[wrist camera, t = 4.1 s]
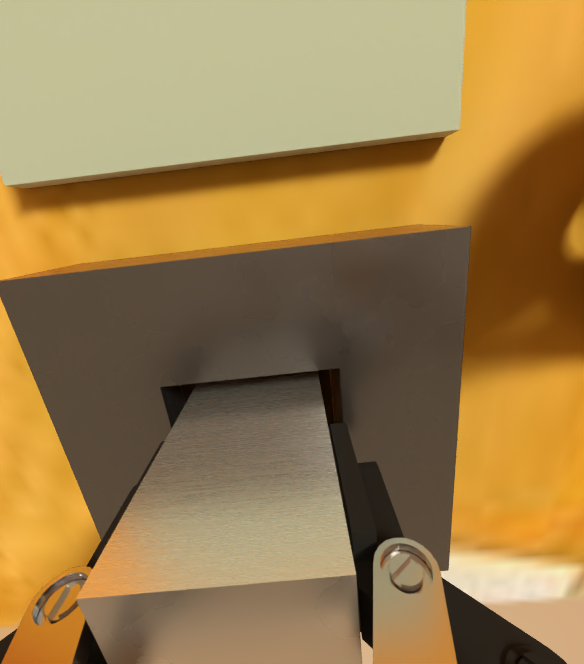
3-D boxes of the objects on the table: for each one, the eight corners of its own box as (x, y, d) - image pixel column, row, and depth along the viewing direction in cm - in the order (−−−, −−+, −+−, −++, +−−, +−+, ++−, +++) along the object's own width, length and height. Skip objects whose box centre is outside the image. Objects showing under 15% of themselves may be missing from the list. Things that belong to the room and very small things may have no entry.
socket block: (418, 224, 13) (470, 226, 9) (413, 494, 18) (448, 570, 14) (77, 264, 13) (-7, 281, 10) (160, 518, 18) (125, 598, 14)
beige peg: (312, 345, 15) (356, 574, 5) (321, 430, 16) (366, 729, 7) (212, 356, 15) (76, 599, 5) (229, 439, 16) (147, 745, 7)
